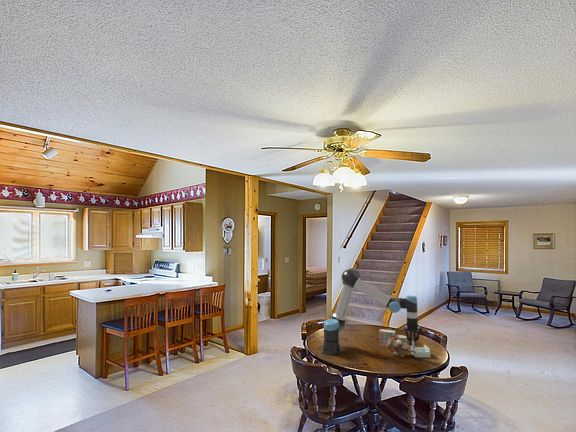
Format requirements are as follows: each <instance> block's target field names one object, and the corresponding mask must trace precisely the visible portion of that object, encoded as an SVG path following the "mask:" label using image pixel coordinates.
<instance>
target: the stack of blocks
mask: <svg viewBox="0 0 576 432" xmlns="http://www.w3.org/2000/svg"><path fill="white" fill-rule="evenodd" d="M389 338H390V339H391V340H395V341H397V340H401V342H402V343H406V344H408V340H407V338H406V335H401V334H396V330H391V329H382V328H381V329H379V330H378V347H382V348H387V347H386V346H387V341H388V339H389ZM394 349H396V346H394ZM403 350H404V351H407V350H408V349H405V348H402V351H403Z"/></svg>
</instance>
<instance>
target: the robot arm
mask: <svg viewBox="0 0 576 432" xmlns="http://www.w3.org/2000/svg"><path fill="white" fill-rule="evenodd" d="M361 276H362V275H361V272H360V271H359V270H358V269H357V268H355V267H352V268H348V269H345V270H344V271H343V272H342V273H341V281H342V282H341V283H342V288H341V292H340V295H339V299H338V300H337V301H338V302H337V305H336V309H335V312H334V313H332V314H331V318H329V319H326V320H324V322H323V342H322V343H323V344H322V346H321V352H322V354H325V355H329V356H330V355H331V356H338V355H340V354H342V347H341V342H340V334H341V333H342V332H344V330H345V328H346V323H347V322H346V321H347V317H346V315H347V312H348V310H349V305H350V302H351V300H352V295H353V293H354V290H355V289H356V290H357V291H359V292H361V293H363V294H364V295H366V296H367V297H369V298H371V299H373V301H376V302H377V303H379V304H381V305H383V306H384V307H385V308H387V309H389V311H390V312H392V313H394V314H395V313H398V312H400V311H401V309H403V310H406V325H405V326H402V327H403V330H404V332H405V336H406V338H407V342H409V344H410V346H411V350H412V351H415V347H416V346H417V342H418V341H419V340H420V335H421V330H422V329H423V328H422V327H421V326H419V324H418V322H419V319H418V316H419V315H418V298H417V296H415V295H406V297H403V298H402V297H391V296H389V295H387V294H386V293H385V292H382V291H381V290H379V289H377V288H375V287H374V286H372V285H370V284H368V283H366V282H365V280H364V281H363V280H362V279H361Z"/></svg>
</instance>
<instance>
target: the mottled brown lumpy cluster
mask: <svg viewBox="0 0 576 432" xmlns="http://www.w3.org/2000/svg"><path fill="white" fill-rule="evenodd" d="M398 345H402V348H405V349H407V350H408V351H409V352H410V353H411V352H412V353H416V352H415V351H412V350H411V346H410V343H407V344H406V343H402V342H401V344H400V343H397V341H395V340H391V339H390V338H389V339H388V341H387V346H386V347H385V348H387V349H388V350H391V351H394V349H395V348H394V346H397V347H398ZM412 353H411V354H412Z"/></svg>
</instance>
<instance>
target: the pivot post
mask: <svg viewBox="0 0 576 432" xmlns="http://www.w3.org/2000/svg"><path fill="white" fill-rule="evenodd" d="M392 353H393V354H394V355H395V357H396V358H405V354H404V353H403V349H402V345H398V347H397V346H396V348H395V351H393V352H392Z"/></svg>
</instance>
